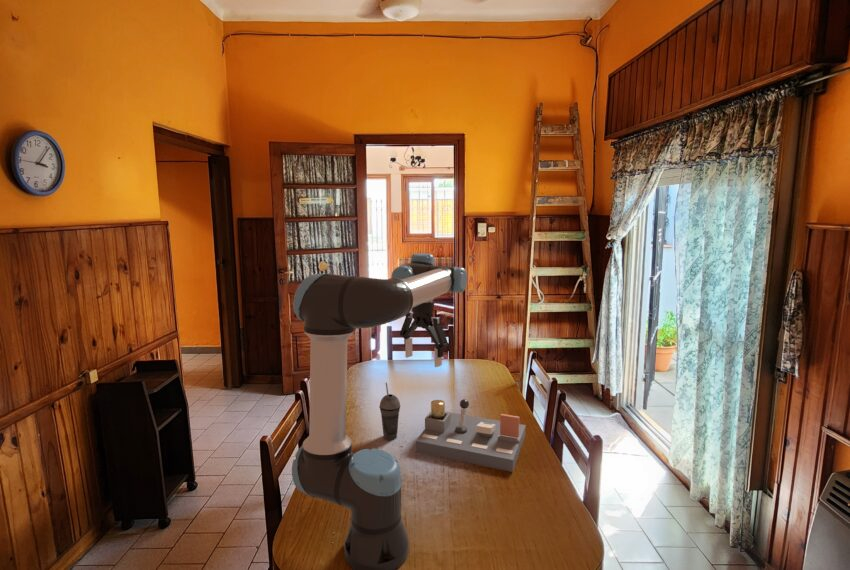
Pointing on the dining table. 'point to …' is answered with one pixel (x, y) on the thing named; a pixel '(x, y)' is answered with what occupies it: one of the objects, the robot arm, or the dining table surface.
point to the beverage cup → (389, 415)
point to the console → (469, 442)
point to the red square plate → (509, 425)
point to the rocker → (485, 428)
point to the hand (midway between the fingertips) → (423, 361)
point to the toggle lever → (463, 411)
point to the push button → (438, 409)
